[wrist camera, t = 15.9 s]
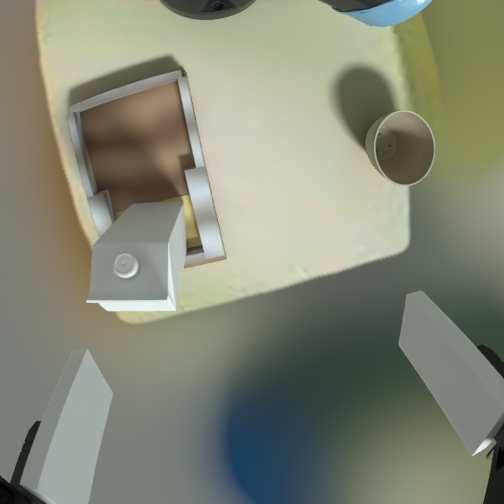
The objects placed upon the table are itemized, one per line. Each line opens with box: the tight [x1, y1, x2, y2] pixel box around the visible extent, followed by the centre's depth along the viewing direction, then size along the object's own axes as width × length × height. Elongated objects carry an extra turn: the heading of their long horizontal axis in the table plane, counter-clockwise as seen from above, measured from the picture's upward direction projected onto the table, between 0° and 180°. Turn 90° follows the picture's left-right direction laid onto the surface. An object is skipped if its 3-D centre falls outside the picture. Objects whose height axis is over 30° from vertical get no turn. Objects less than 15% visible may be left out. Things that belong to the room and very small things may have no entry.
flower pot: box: [365, 110, 435, 186], centre depth 38 cm, size 10×10×7 cm
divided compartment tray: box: [67, 70, 226, 268], centre depth 38 cm, size 26×16×3 cm, turn 10°
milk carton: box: [86, 201, 187, 311], centre depth 32 cm, size 7×7×19 cm
